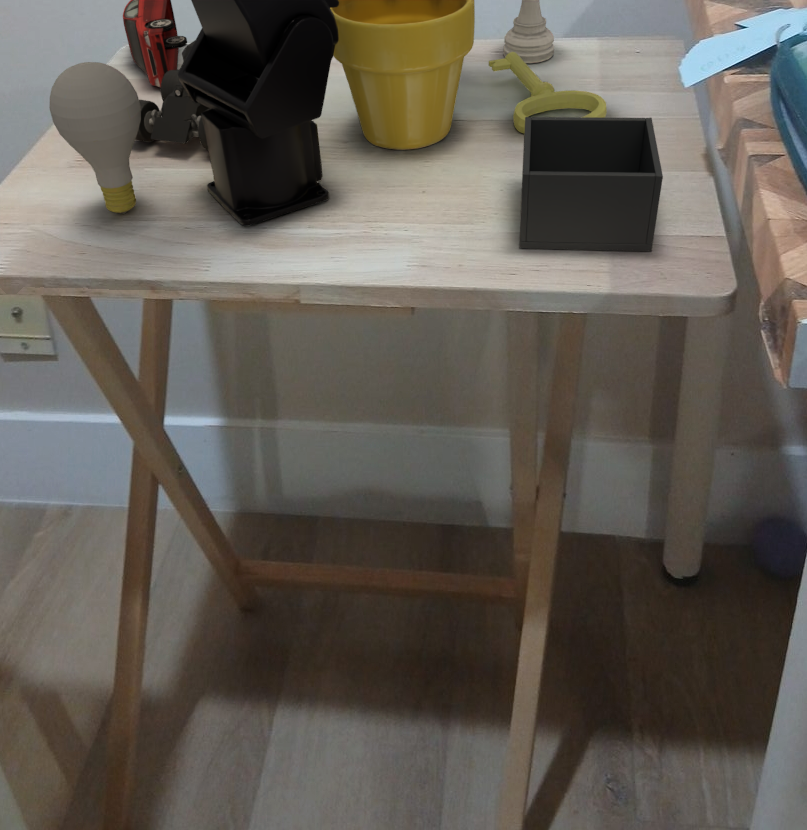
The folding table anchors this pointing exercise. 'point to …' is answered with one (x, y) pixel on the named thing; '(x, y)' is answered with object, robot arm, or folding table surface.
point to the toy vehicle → (172, 113)
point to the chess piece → (530, 35)
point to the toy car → (152, 37)
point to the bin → (589, 184)
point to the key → (545, 93)
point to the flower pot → (404, 65)
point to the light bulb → (99, 125)
